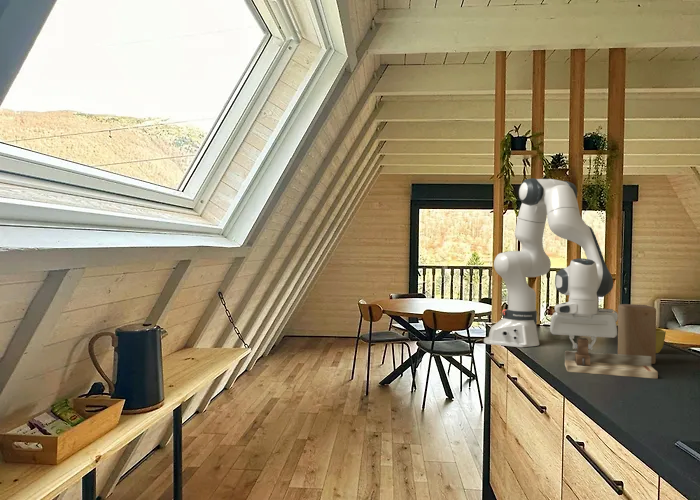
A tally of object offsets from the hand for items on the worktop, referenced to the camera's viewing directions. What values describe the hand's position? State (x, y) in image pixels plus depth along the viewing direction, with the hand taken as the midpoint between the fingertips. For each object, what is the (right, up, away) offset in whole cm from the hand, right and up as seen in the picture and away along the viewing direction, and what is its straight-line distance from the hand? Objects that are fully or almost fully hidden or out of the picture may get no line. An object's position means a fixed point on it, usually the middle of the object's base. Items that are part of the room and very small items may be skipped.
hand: (582, 349), depth 172 cm
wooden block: (+26, -7, +14) cm, 30 cm away
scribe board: (+8, -7, -2) cm, 11 cm away
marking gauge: (0, -5, 0) cm, 5 cm away
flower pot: (+41, -7, +31) cm, 52 cm away
